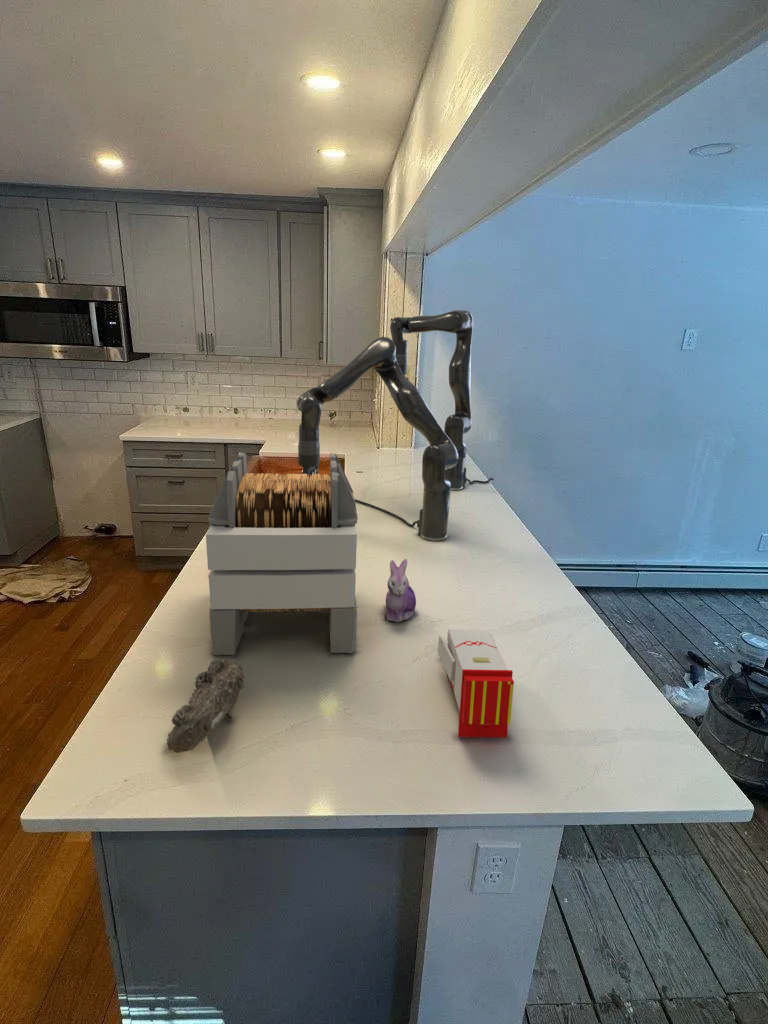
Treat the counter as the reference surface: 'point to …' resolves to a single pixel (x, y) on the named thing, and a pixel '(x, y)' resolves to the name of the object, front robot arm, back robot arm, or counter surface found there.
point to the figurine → (399, 594)
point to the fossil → (206, 705)
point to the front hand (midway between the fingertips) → (309, 496)
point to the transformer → (282, 551)
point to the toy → (478, 682)
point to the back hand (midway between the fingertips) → (397, 398)
